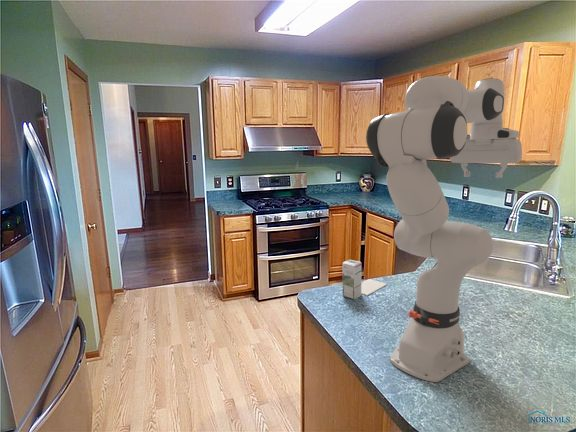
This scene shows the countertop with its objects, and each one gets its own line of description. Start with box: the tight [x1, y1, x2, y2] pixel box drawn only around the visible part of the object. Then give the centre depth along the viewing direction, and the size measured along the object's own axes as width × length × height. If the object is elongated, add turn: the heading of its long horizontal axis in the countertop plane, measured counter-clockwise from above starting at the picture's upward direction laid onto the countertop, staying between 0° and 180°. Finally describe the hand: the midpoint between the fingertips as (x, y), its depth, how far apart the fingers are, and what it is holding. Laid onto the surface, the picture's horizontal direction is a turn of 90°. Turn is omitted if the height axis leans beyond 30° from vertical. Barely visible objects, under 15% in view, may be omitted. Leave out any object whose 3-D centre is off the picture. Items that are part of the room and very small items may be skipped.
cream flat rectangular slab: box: [361, 278, 388, 296], centre depth 147 cm, size 15×9×1 cm, turn 133°
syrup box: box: [341, 259, 363, 301], centre depth 138 cm, size 6×6×14 cm
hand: (482, 177), depth 112 cm, fingers open, 8 cm apart
